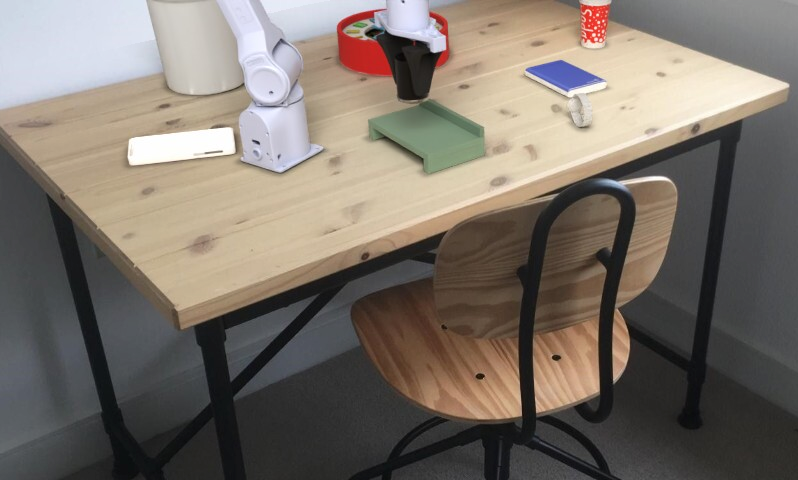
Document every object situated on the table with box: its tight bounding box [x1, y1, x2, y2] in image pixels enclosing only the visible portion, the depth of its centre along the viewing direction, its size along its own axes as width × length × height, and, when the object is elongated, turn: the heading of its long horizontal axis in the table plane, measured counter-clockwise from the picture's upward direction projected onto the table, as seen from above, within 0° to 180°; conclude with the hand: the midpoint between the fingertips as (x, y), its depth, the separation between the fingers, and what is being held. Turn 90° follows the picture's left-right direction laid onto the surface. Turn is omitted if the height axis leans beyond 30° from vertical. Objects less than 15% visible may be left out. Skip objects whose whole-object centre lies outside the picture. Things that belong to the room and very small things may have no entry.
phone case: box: [127, 126, 237, 166], centre depth 143 cm, size 7×1×15 cm
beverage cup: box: [578, 0, 613, 50], centre depth 178 cm, size 6×6×14 cm
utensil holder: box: [145, 0, 245, 96], centre depth 161 cm, size 15×15×18 cm
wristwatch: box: [566, 93, 593, 128], centre depth 149 cm, size 3×5×5 cm, turn 21°
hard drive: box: [524, 59, 607, 99], centre depth 166 cm, size 2×8×12 cm
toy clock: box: [336, 8, 450, 77], centre depth 175 cm, size 20×6×20 cm
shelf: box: [367, 98, 486, 175], centre depth 143 cm, size 10×16×4 cm, turn 38°
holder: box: [395, 53, 430, 105], centre depth 135 cm, size 5×5×6 cm
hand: (412, 88), depth 136 cm, fingers closed on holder, 4 cm apart
